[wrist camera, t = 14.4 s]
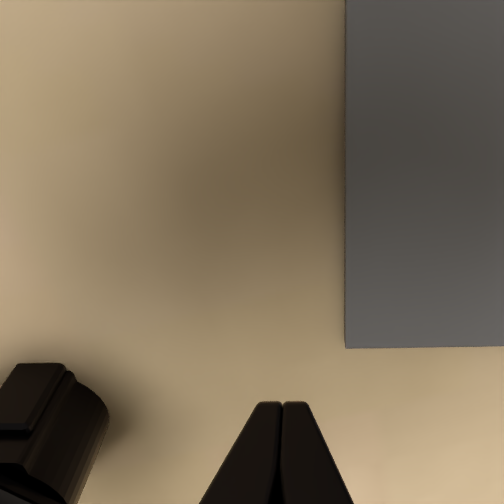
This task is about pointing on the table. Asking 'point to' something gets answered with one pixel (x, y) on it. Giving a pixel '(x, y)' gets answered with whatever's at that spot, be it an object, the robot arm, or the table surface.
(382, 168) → the mat
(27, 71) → the table surface
